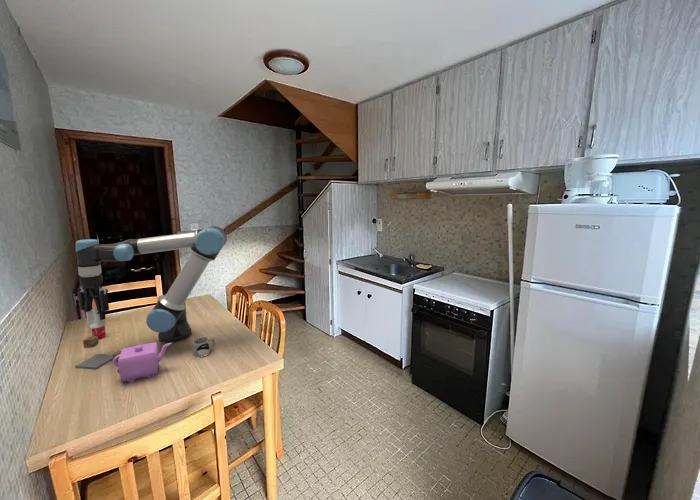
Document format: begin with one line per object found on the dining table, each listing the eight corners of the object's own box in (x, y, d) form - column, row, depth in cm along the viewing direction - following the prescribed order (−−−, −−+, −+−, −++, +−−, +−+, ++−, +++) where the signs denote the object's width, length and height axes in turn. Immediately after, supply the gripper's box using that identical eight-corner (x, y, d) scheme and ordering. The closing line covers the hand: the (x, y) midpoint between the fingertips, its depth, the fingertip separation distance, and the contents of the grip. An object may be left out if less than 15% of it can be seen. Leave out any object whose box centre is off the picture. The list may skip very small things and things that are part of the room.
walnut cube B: (129, 360, 131) (128, 351, 130) (119, 364, 127) (118, 356, 126) (123, 358, 132) (122, 350, 132) (113, 362, 129) (112, 354, 128)
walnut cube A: (98, 343, 146) (97, 335, 145) (93, 347, 142) (92, 339, 141) (89, 344, 145) (88, 336, 144) (84, 348, 141) (82, 340, 140)
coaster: (117, 357, 133) (117, 355, 133) (96, 369, 123) (95, 367, 123) (97, 355, 134) (97, 353, 134) (75, 367, 124) (74, 365, 124)
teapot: (113, 387, 112) (109, 357, 109) (117, 374, 120) (114, 345, 118) (174, 372, 121) (171, 344, 119) (174, 361, 130) (171, 334, 128)
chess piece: (103, 322, 134) (100, 302, 133) (104, 326, 131) (102, 304, 129) (88, 326, 131) (86, 304, 129) (90, 329, 127) (87, 307, 126)
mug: (198, 359, 132) (196, 345, 131) (191, 354, 136) (189, 341, 135) (219, 350, 140) (218, 337, 139) (212, 346, 144) (211, 333, 143)
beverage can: (98, 340, 149) (95, 318, 147) (90, 339, 150) (87, 317, 148) (108, 335, 154) (105, 314, 152) (100, 334, 155) (97, 313, 153)
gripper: (116, 274, 129) (121, 324, 133) (82, 271, 132) (88, 320, 136) (99, 278, 122) (105, 331, 126) (64, 275, 125) (71, 327, 129)
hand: (96, 325), depth 131 cm, fingers closed on chess piece, 5 cm apart
